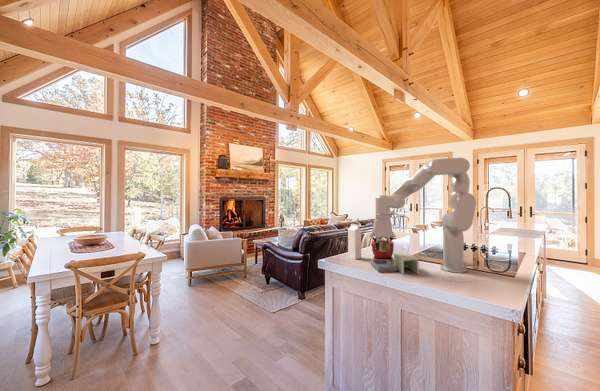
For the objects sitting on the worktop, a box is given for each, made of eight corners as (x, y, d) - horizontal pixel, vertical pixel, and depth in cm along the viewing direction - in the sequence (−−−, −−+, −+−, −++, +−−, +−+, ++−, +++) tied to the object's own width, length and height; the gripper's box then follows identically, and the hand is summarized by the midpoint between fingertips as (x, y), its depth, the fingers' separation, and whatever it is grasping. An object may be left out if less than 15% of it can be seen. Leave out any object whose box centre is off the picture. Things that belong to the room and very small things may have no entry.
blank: (383, 247, 152) (383, 239, 152) (390, 251, 142) (390, 242, 142) (375, 247, 152) (375, 239, 152) (380, 251, 142) (380, 242, 142)
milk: (355, 259, 165) (354, 225, 165) (348, 257, 170) (347, 224, 170) (361, 258, 169) (361, 224, 169) (354, 256, 174) (353, 223, 173)
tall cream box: (408, 267, 148) (408, 253, 148) (418, 273, 136) (418, 258, 136) (394, 267, 148) (393, 253, 148) (402, 273, 136) (402, 259, 136)
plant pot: (395, 259, 165) (395, 240, 165) (390, 264, 154) (390, 244, 154) (375, 256, 172) (375, 238, 172) (369, 261, 161) (368, 242, 160)
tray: (387, 264, 154) (387, 259, 154) (396, 271, 139) (396, 266, 139) (370, 264, 154) (370, 259, 154) (378, 272, 139) (378, 267, 139)
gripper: (395, 216, 150) (395, 247, 150) (365, 216, 150) (365, 248, 150) (400, 217, 143) (400, 250, 143) (369, 218, 142) (369, 251, 143)
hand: (382, 249), depth 147 cm, fingers closed on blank, 5 cm apart
